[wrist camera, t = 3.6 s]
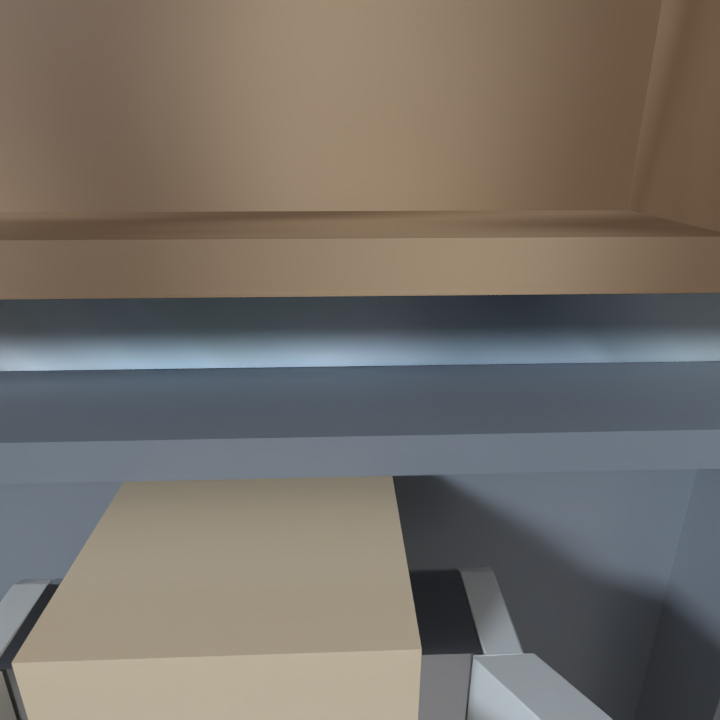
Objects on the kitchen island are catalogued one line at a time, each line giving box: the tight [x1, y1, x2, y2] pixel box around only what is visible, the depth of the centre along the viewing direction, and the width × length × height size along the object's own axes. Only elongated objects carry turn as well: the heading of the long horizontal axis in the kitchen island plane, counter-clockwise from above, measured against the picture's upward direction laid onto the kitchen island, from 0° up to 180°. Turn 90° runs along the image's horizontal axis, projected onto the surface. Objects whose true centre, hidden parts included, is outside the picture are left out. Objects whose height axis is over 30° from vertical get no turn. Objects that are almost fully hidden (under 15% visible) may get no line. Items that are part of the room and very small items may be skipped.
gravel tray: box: [0, 361, 720, 720], centre depth 10 cm, size 16×12×2 cm
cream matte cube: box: [11, 476, 422, 720], centre depth 8 cm, size 4×4×4 cm
